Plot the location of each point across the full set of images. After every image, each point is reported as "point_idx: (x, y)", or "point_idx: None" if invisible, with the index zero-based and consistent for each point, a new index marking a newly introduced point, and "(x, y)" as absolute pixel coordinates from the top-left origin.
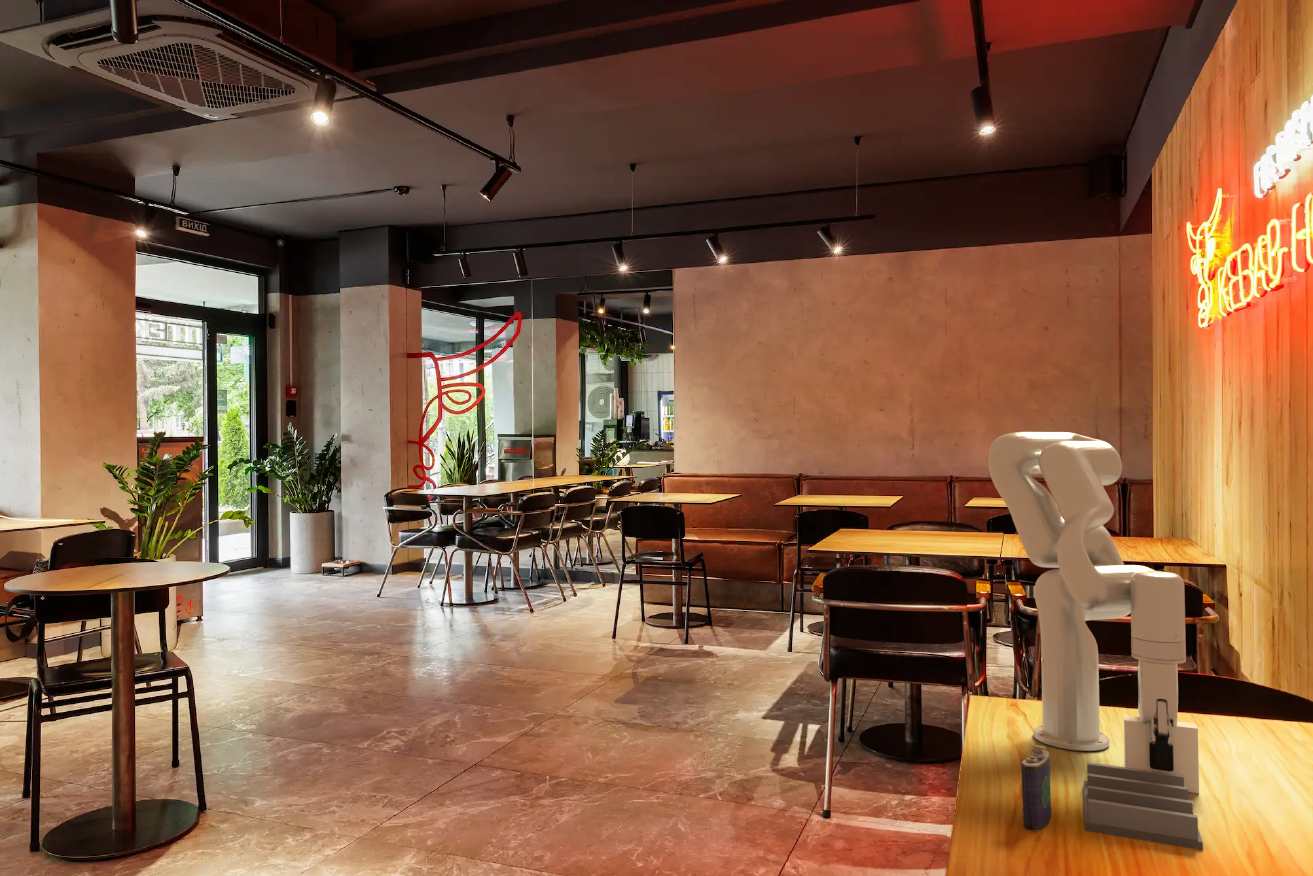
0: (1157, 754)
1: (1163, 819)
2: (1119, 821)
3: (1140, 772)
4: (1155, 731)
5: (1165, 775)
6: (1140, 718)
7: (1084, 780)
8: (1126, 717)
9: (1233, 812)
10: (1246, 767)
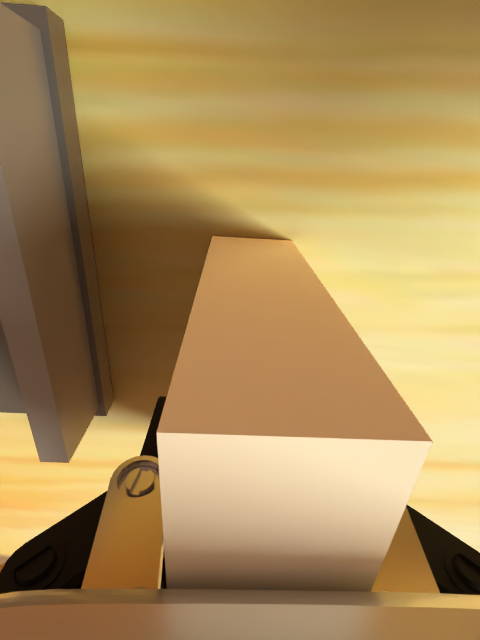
0: (147, 434)
1: None
2: None
3: (5, 315)
4: (41, 584)
5: (26, 407)
6: (75, 630)
7: (41, 9)
8: (323, 462)
9: (96, 482)
10: (476, 546)
